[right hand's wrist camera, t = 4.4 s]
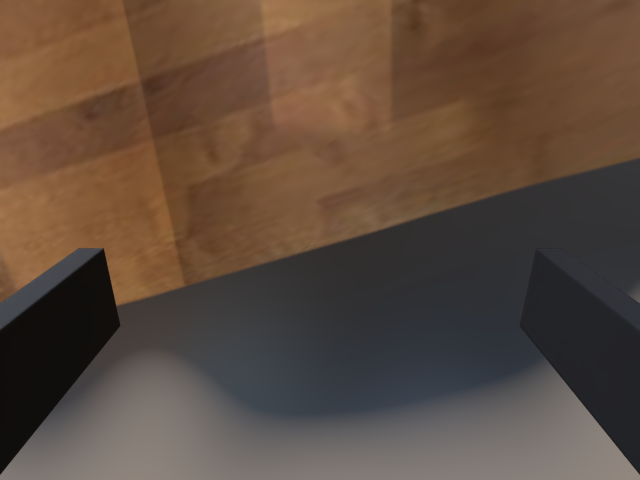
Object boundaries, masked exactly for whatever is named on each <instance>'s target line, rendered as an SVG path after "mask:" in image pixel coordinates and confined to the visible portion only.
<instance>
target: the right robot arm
mask: <svg viewBox="0 0 640 480" xmlns="http://www.w3.org/2000/svg"><path fill="white" fill-rule="evenodd" d="M119 327H120V322H119V317H118V313H117V308H116V303H115V299H114V294H113V289H112V285H111V280H110V275H109V271H108V266H107V262H106V257H105V252H104V248H78V249H77V250H76V251H74V252H73V253H71V254H70V255H68V256H67V257H66V258H64V259H63V260H61V261H60V262H59V263H57V264H56V265H54V266H53V267H51V268H50V269H49V270H47V271H46V272H44V273H43V274H42V275H40V276H39V277H37V278H36V279H34V280H33V281H32V282H30V283H29V284H27V285H26V286H25V287H23V288H22V289H20V290H19V291H17V292H16V293H15V294H13V295H12V296H10V297H9V298H8V299H6V300H5V301H3V302H2V303H0V474H1V473H2V472H3V471H4V469H5V468H6V467H7V466H8V464H9V463H10V462H11V461H12V459H13V458H14V457H15V456H16V454H17V453H18V452H19V451H20V449H21V448H22V447H23V446H24V445H25V443H26V442H27V441H28V440H29V438H30V437H31V436H32V435H33V433H34V432H35V431H36V430H37V428H38V427H39V426H40V425H41V423H42V422H43V421H44V420H45V418H46V417H47V416H48V415H49V413H50V412H51V411H52V410H53V409H54V407H55V406H56V405H57V404H58V402H59V401H60V400H61V399H62V397H63V396H64V395H65V394H66V392H67V391H68V390H69V389H70V387H71V386H72V385H73V384H74V383H75V381H76V380H77V379H78V378H79V376H80V375H81V374H82V373H83V371H84V370H85V369H86V368H87V366H88V365H89V364H90V363H91V361H92V360H93V359H94V358H95V356H96V355H97V354H98V353H99V352H100V350H101V349H102V348H103V347H104V345H105V344H106V343H107V342H108V340H109V339H110V338H111V337H112V335H113V334H114V333H115V332H116V330H117V329H118V328H119ZM520 327H521V328H522V329H523V330H524V332H525V333H526V334H527V335H528V337H529V338H530V339H531V340H532V342H533V343H534V344H535V345H536V347H537V348H538V349H539V350H540V352H541V353H542V354H543V355H544V356H545V358H546V359H547V360H548V361H549V363H550V364H551V365H552V366H553V368H554V369H555V370H556V371H557V373H558V374H559V375H560V376H561V377H562V379H563V380H564V381H565V383H566V384H567V385H568V386H569V387H570V389H571V390H572V391H573V392H574V394H575V395H576V396H577V397H578V399H579V400H580V401H581V402H582V404H583V405H584V406H585V407H586V409H587V410H588V411H589V412H590V414H591V415H592V416H593V417H594V418H595V420H596V421H597V422H598V423H599V425H600V426H601V427H602V428H603V430H604V431H605V432H606V433H607V435H608V436H609V437H610V438H611V440H612V441H613V442H614V443H615V444H616V446H617V447H618V448H619V449H620V451H621V452H622V453H623V454H624V456H625V457H626V458H627V459H628V461H629V462H630V463H631V464H632V466H633V467H634V468H635V469H636V470H637V472H638V473H639V474H640V303H638V302H637V301H635V300H634V299H632V298H631V297H630V296H628V295H627V294H625V293H624V292H622V291H621V290H620V289H618V288H617V287H615V286H614V285H613V284H611V283H610V282H608V281H607V280H606V279H604V278H603V277H601V276H600V275H598V274H597V273H596V272H594V271H593V270H591V269H590V268H588V267H587V266H586V265H584V264H583V263H581V262H580V261H579V260H577V259H576V258H574V257H573V256H572V255H570V254H569V253H567V252H566V251H564V250H563V249H561V248H537V249H536V252H535V257H534V262H533V266H532V271H531V275H530V280H529V285H528V289H527V294H526V299H525V303H524V308H523V313H522V317H521V322H520Z"/></svg>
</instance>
